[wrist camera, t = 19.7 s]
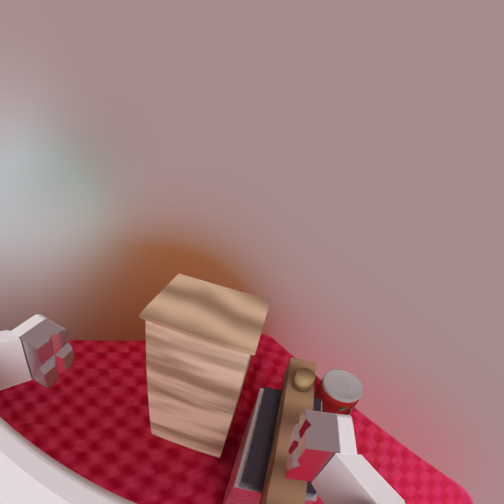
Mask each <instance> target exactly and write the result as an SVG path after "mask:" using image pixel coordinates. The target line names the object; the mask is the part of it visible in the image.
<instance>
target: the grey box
mask: <svg viewBox="0 0 504 504" xmlns="http://www.w3.org/2000/svg"><path fill="white" fill-rule="evenodd" d="M280 396H281V390H276V389H272V388H268V387H265V388H264V389H263V388H260V390H259V393H258V396H257V399H256V401H255V404H254V407H253V410H252V412H251V415H250V418H249V420H248V423H247V426H246V428H245V431H244V434H243V436H242V439H241V442H240V446H239V449H238V452H237V456H236V459H235V463H234V466H233V469H232V473H231V476H230V479H229V483H228V486H227V489H226V492H225V495H224V499H223V502H222V504H259V502H260V498H261V493H262V489H263V484H264V480H265V475H266V470H267V465H268V460H269V456H270V450H271V445H272V440H273V435H274V430H275V424H276V419H277V413H278V408H279V402H280ZM313 410H314V411H320V412H322V401H321V399H318V398H314V404H313ZM316 501H317V492H316V490H315V489H314V487H313V485H312V484H311V482H309V481H307V490H306V498H305V504H313V503H315V502H316Z"/></svg>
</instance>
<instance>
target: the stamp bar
mask: <svg viewBox="0 0 504 504" xmlns="http://www.w3.org/2000/svg"><path fill="white" fill-rule="evenodd" d="M314 382H315V363H313V362H309V361H304V360H300V359H296V358H292V357H291V358H290V361H289V363H288V366H287V368H286V371H285V373H284V378H283V384H282V390H281V396H280V402H279V408H278V413H277V419H276V424H275V430H274V435H273V440H272V445H271V450H270V456H269V460H268V465H267V470H266V475H265V480H264V484H263V489H262V493H261V498H260V502H259V504H305V498H306V490H307V481H302V480H295V479H288V478H285V477H286V465H287V461H288V459H289V457H290V456H291V455H290V453H289V452H288V444H289V439H290V436H291V433H292V430H293V428H294V426H295V425H296V424H298V423H299V416H300V415H301V413H302V411H303V410H304V409H307V410H313V404H314Z"/></svg>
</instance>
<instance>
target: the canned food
mask: <svg viewBox="0 0 504 504" xmlns="http://www.w3.org/2000/svg"><path fill="white" fill-rule="evenodd" d="M362 393H363V386H362V384H361V382H360V381H359V379H357V377H356V376H354V375H353V374H351V373H349V372H347V371H344V370H338V369H337V370H331V371H328V372H327V373H326V374H325V376H324V377H323V379H322V381H321V382H320V384H319V386H318V388H317V390H316V392H315V394H314V398H318V399H321V401H322V412H327V413H334V414H343V415H349V414H350V412H351V411H352V409H353V408H354V407H355V405H356V404H357V402H358V401H359V399H360V397H361V395H362Z"/></svg>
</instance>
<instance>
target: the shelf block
mask: <svg viewBox="0 0 504 504" xmlns="http://www.w3.org/2000/svg"><path fill="white" fill-rule="evenodd" d="M269 304H270V299H266V298H262V297H259V296H255V295H252V294H248V293H244V292H241V291H237V290H234V289H230V288H226V287H223V286H220V285H216V284H213V283H209V282H205V281H202V280H199V279H196V278H192V277H189V276H186V275H182V274H178V275H177V276H176V277H175V278H174V279H173V280H172V281H171V282H170V283H169V284H168V285H167V286H166V287H165V288H164V289H163V290H162V291H161V292H160V293H159V294H158V295H157V296H156V297H155V298H154V299H153V300H152V301H151V302H150V303H149V305H147V307H146V308H145V309H144V310H143V311H142V312H141V313H140V318H142V319H144V320H146V366H147V387H148V402H149V414H150V425H151V434H154V435H156V436H158V437H161V438H163V439H166V440H168V441H171V442H174V443H176V444H179V445H182V446H185V447H187V448H190V449H193V450H196V451H199V452H202V453H205V454H209V455H212V456H215V457H218V458H220V456H221V453H222V450H223V447H224V444H225V441H226V438H227V435H228V432H229V429H230V426H231V423H232V420H233V417H234V413H235V410H236V407H237V403H238V400H239V396H240V393H241V390H242V386H243V383H244V379H245V376H246V372H247V369H248V365H249V362H250V358H251V355H254V356H255V353H256V349H257V346H258V342H259V339H260V335H261V332H262V328H263V325H264V321H265V318H266V314H267V311H268V307H269Z"/></svg>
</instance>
